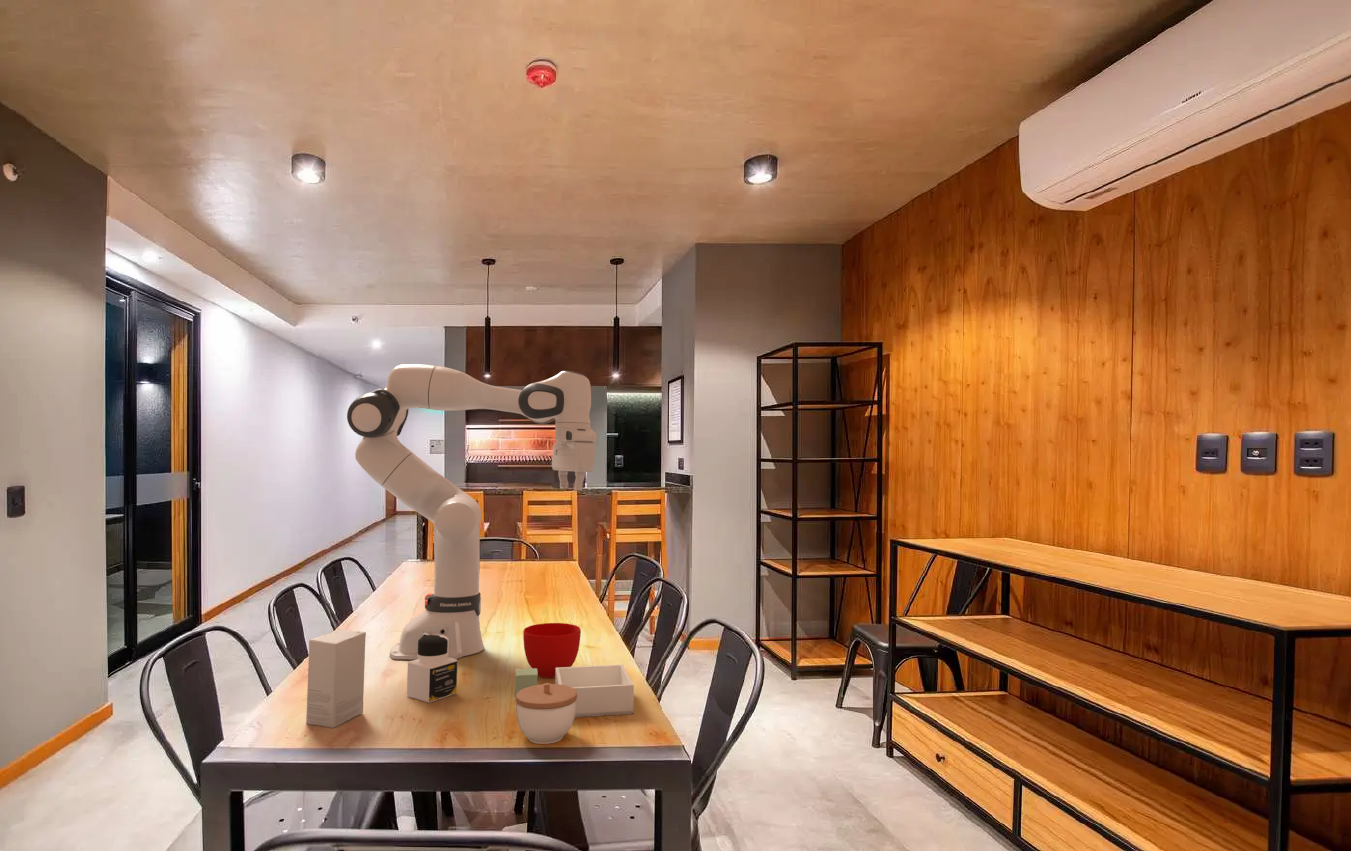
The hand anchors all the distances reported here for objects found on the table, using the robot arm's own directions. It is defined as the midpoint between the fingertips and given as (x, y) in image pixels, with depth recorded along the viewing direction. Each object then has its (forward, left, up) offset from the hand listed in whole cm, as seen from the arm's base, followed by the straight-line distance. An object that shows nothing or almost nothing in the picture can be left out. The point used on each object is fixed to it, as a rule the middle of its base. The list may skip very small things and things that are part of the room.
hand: (570, 489), depth 184 cm
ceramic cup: (-5, -14, -42) cm, 44 cm away
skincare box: (-46, -38, -42) cm, 72 cm away
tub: (+2, -38, -41) cm, 56 cm away
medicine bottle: (-30, -27, -42) cm, 58 cm away
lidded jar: (-8, -54, -42) cm, 68 cm away
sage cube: (-11, -29, -41) cm, 52 cm away
